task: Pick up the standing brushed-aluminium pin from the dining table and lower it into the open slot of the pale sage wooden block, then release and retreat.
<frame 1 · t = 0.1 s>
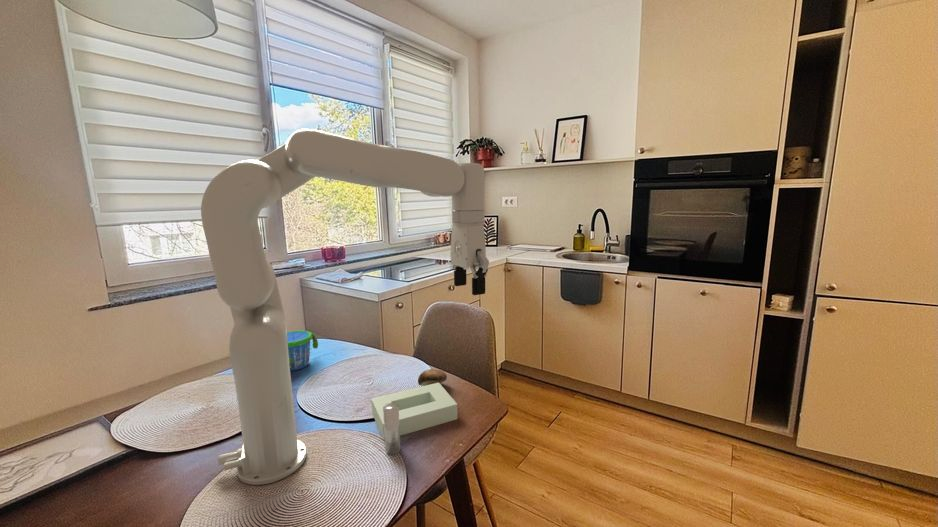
hand: (469, 289, 92), 31 cm above the table, fingers open, 9 cm apart
mushroom: (432, 388, 108), on the table
snack cup: (296, 366, 122), on the table
slot block: (414, 416, 94), on the table
pin: (392, 449, 82), on the table
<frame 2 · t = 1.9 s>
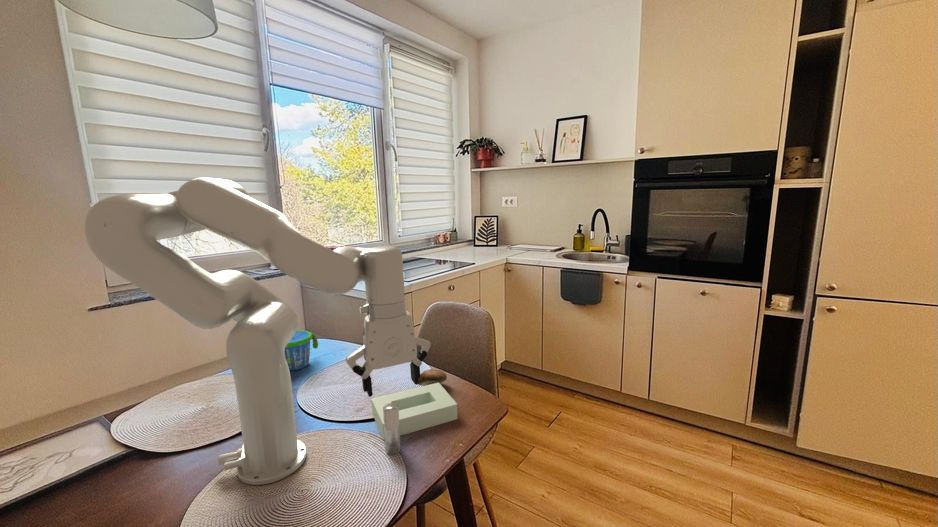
hand: (392, 387, 79), 14 cm above the table, fingers open, 9 cm apart
nothing on the table moved.
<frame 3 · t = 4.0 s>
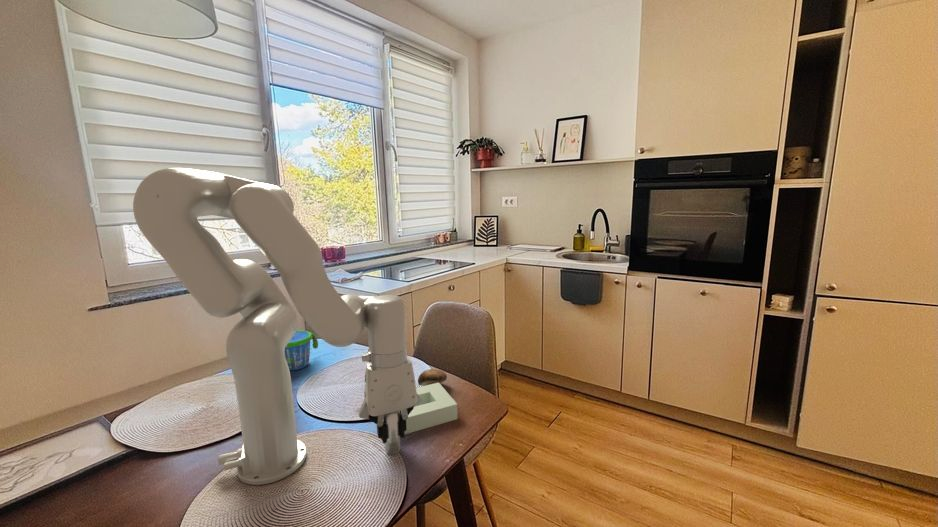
hand: (392, 436, 81), 3 cm above the table, fingers closed on pin, 3 cm apart
pin: (393, 449, 82), on the table, touching gripper
everything else where it was.
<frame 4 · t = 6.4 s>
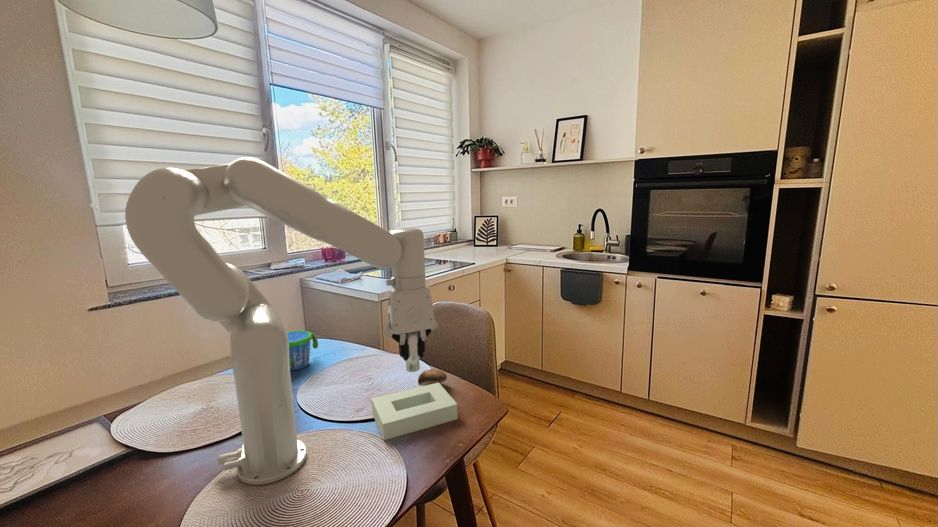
hand: (412, 356, 91), 16 cm above the table, fingers closed on pin, 3 cm apart
pin: (413, 368, 92), point 12 cm above the table, touching gripper
everything else where it was.
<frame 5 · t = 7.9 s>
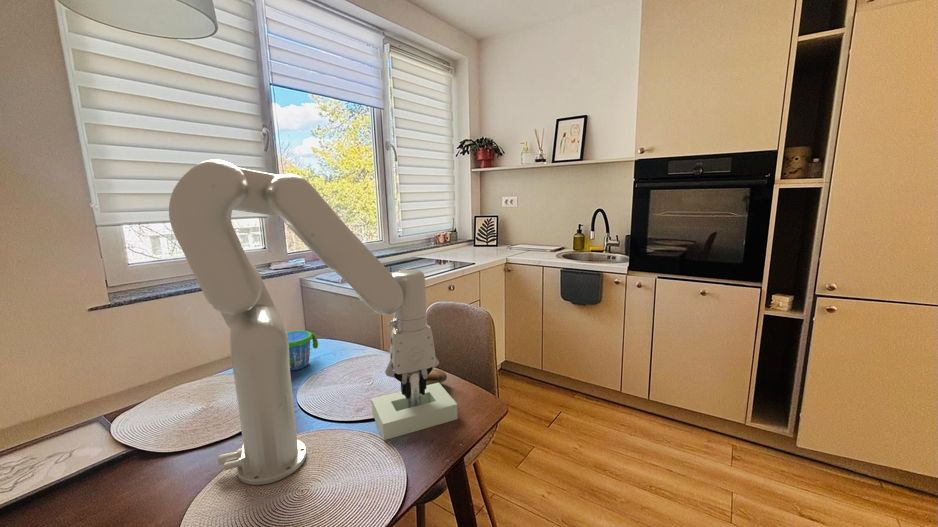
hand: (414, 393, 93), 6 cm above the table, fingers closed on pin, 3 cm apart
pin: (414, 405, 94), point 3 cm above the table, touching gripper
everything else where it was.
when the fingers open (5 cm above the table, at t = 8.9 s): pin drops 1 cm, resting in slot block.
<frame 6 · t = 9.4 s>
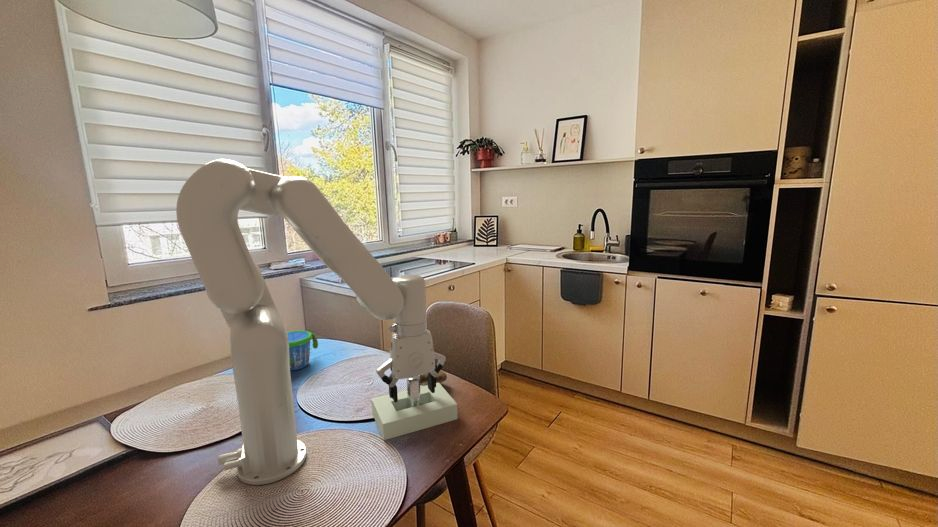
hand: (413, 394, 93), 6 cm above the table, fingers open, 9 cm apart
pin: (414, 416, 94), resting in slot block
everything else where it was.
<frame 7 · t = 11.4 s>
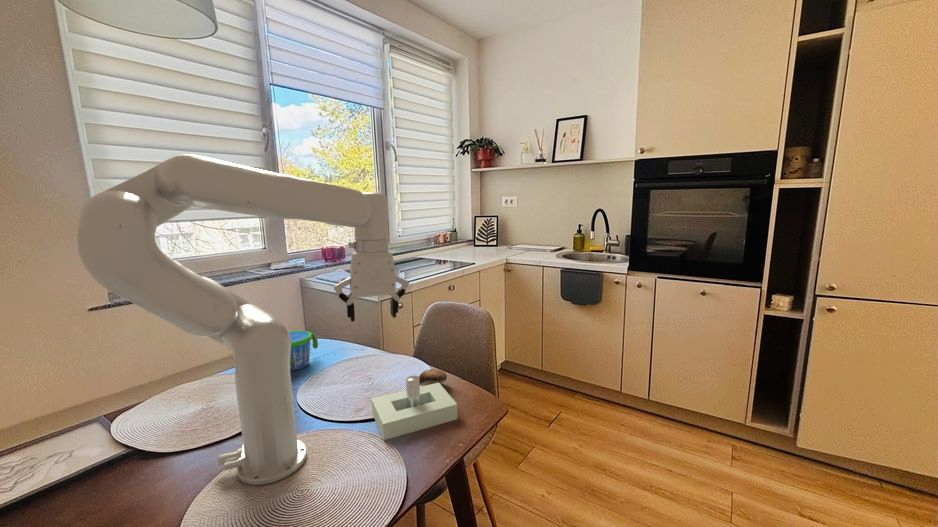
hand: (373, 318, 91), 25 cm above the table, fingers open, 9 cm apart
nothing on the table moved.
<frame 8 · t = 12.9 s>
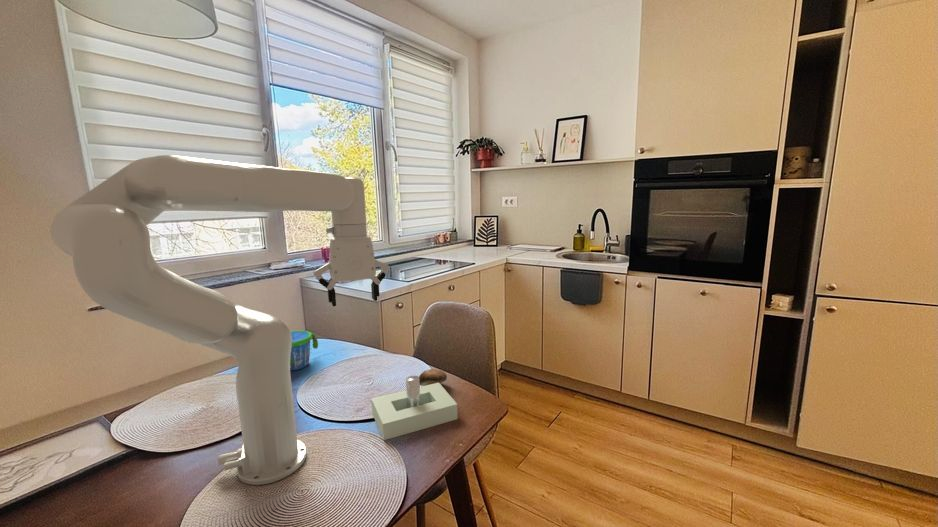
hand: (354, 302, 92), 28 cm above the table, fingers open, 9 cm apart
nothing on the table moved.
at the end: pin inside the target area on the slot block (0.1 cm from its centre), point 0.0 cm above the slot block's base; pin tilted 0°; the gripper is holding nothing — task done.
